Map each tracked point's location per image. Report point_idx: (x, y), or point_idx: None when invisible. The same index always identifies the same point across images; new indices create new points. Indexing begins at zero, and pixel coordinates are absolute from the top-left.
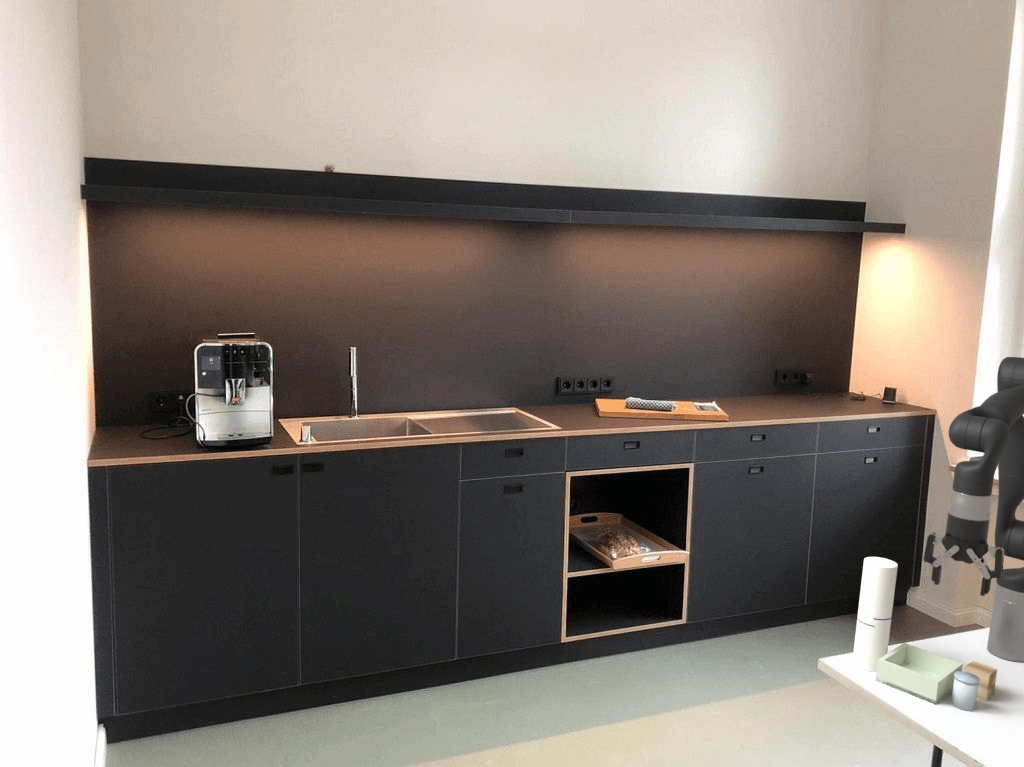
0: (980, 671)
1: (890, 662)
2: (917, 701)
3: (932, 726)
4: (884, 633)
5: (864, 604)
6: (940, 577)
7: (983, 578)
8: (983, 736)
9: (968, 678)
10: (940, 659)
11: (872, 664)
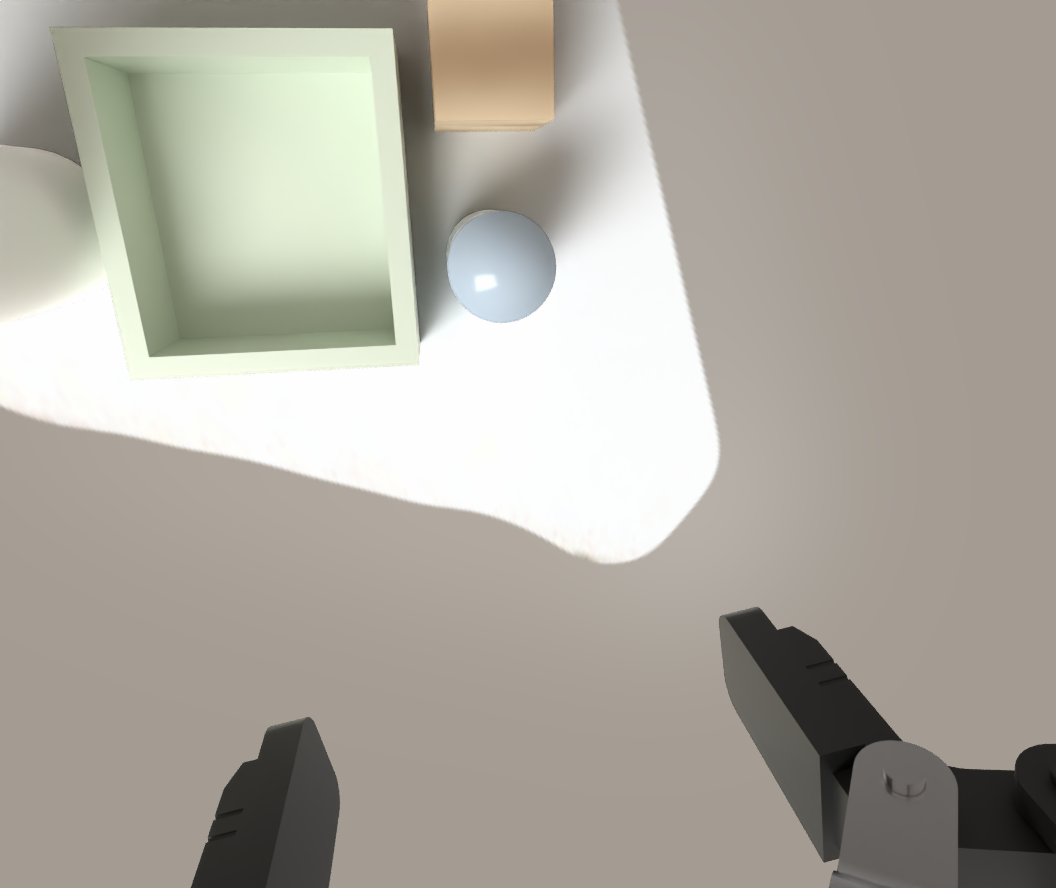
0: (508, 105)
1: (182, 357)
2: (367, 377)
3: (486, 501)
4: (18, 279)
5: None
6: (298, 759)
7: (835, 851)
8: (620, 422)
9: (514, 282)
10: (286, 58)
11: (86, 293)
